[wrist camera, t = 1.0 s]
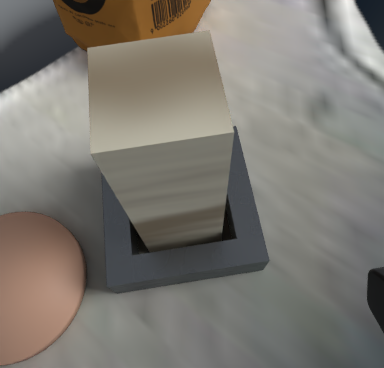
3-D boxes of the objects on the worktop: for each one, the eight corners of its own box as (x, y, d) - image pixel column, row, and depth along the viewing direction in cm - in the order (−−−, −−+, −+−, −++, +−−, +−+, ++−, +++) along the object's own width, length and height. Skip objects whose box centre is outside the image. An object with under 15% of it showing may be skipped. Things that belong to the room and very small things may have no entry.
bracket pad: (108, 315, 21) (104, 314, 20) (-43, 397, 19) (-53, 399, 19) (59, 193, 24) (55, 189, 24) (-71, 255, 23) (-80, 252, 22)
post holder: (263, 269, 22) (269, 260, 19) (117, 293, 21) (106, 286, 19) (233, 146, 25) (236, 126, 23) (110, 164, 25) (100, 146, 23)
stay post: (221, 241, 23) (234, 131, 11) (149, 252, 22) (90, 153, 11) (208, 177, 24) (209, 30, 13) (143, 187, 24) (87, 48, 13)
